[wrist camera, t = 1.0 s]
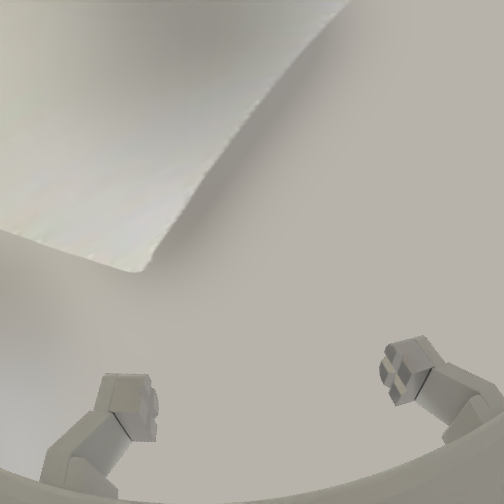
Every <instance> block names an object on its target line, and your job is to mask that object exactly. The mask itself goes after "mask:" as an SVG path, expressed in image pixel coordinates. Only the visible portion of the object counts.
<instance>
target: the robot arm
mask: <svg viewBox="0 0 504 504" xmlns="http://www.w3.org/2000/svg"><path fill="white" fill-rule="evenodd" d="M385 354H386V357H384V359H383V360H382V361H381V364H380V367H379V368H380V369H379V370H380V377H381V380H382V382H383V384H384V385H386V386H387V387H389V388H390V389H389V395H390V397H391V399H392V400H393V402H394V404H395V406H399V405H402V404H406V403H409V402H412V401H415V402H416V403H417V404H419V405H420V406H422V407H423V408H424V409H426V410H427V411H428V412H430V413H431V414H433V415H434V416H436V417H437V418H439V419H440V420H441V421H443V422H444V423H446V424H447V425H449V427H448V428H447V430H446V431H445V432H444V433H443V435H442V439H443V441H444V443H445V446H442V447H441V448H438V449H437V450H434V451H432V452H430V453H428V454H426V455H423V456H421V457H419V458H417V459H414V460H412V461H409V462H407V463H404V464H402V465H399V466H397V467H394V468H392V469H389V470H386V471H384V472H380V473H378V474H375V475H372V476H369V477H365V478H362V479H359V480H356V481H352V482H349V483H345V484H342V485H338V486H334V487H330V488H326V489H322V490H317V491H313V492H308V493H303V494H299V495H293V496H287V497H282V498H274V499H267V500H259V501H251V502H250V501H249V502H240V503H224V504H504V397H503V395H502V394H501V392H500V391H499V390H498V388H497V387H496V386H495V385H494V384H493V383H491V382H489V381H487V380H484V379H482V378H480V377H478V376H476V375H474V374H472V373H469V372H468V371H466V370H463V369H461V368H459V367H457V366H455V365H453V364H451V363H445V362H444V360H443V359H442V358H441V356H440V355H439V354H438V352H437V351H436V350H435V348H434V347H433V346H432V345H431V343H430V342H429V341H428V340H427V338H426V337H425V336H423V335H422V336H418V337H415V338H411V339H407V340H403V341H399V342H395V343H391V344H389V345H388V346H387V347H386V349H385ZM157 415H158V398H157V394H156V391H155V389H153V388H152V387H151V379H150V377H149V375H146V374H110V373H106V374H105V375H104V376H103V378H102V381H101V385H100V388H99V392H98V396H97V399H96V403H95V407H94V411H89V412H88V413H87V414H86V415H85V416H83V417H82V418H81V419H80V420H79V421H78V422H77V423H76V424H75V425H74V426H73V427H72V428H70V429H69V430H68V431H67V432H66V433H65V434H64V435H63V436H62V437H61V438H60V439H59V440H58V441H57V442H55V443H54V444H53V445H52V446H51V447H50V448H49V449H48V450H47V453H46V456H45V461H44V464H43V468H42V472H41V477H40V481H39V482H38V481H34V480H32V479H29V478H26V477H22V476H20V475H17V474H14V473H11V472H9V471H6V470H4V469H1V468H0V504H162V503H147V502H137V501H128V500H119V499H118V489H117V488H116V487H115V486H114V485H113V484H112V483H111V482H110V481H109V480H107V479H106V477H107V475H108V474H109V473H110V471H111V470H112V469H113V468H114V466H115V465H116V463H117V462H118V461H119V460H120V458H121V457H122V456H123V454H124V453H125V452H126V450H127V449H128V448H129V446H130V445H131V444H132V441H141V442H142V441H144V442H156V432H157V425H156V423H155V421H154V419H155V418H156V417H157Z"/></svg>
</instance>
